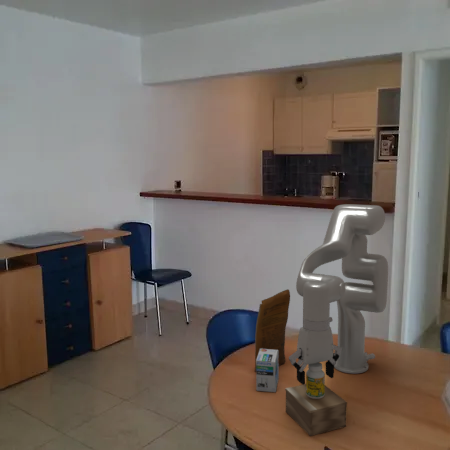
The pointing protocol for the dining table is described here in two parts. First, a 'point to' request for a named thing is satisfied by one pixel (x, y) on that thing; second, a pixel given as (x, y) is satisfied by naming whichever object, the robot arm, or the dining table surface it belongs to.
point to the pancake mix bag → (272, 324)
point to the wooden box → (316, 417)
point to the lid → (315, 404)
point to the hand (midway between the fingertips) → (315, 379)
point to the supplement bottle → (315, 381)
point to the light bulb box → (267, 370)
